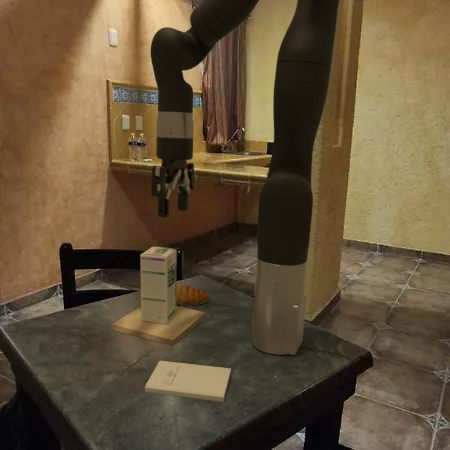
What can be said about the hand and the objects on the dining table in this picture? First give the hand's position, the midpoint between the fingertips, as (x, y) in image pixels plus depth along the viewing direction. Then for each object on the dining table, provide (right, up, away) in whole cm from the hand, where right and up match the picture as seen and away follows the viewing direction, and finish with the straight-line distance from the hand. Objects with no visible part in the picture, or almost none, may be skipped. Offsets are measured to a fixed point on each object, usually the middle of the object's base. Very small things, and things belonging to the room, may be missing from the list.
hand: (173, 213), depth 93 cm
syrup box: (-3, -22, -2) cm, 22 cm away
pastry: (+1, -21, +11) cm, 24 cm away
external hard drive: (+5, -29, -22) cm, 36 cm away
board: (-3, -23, -2) cm, 23 cm away
